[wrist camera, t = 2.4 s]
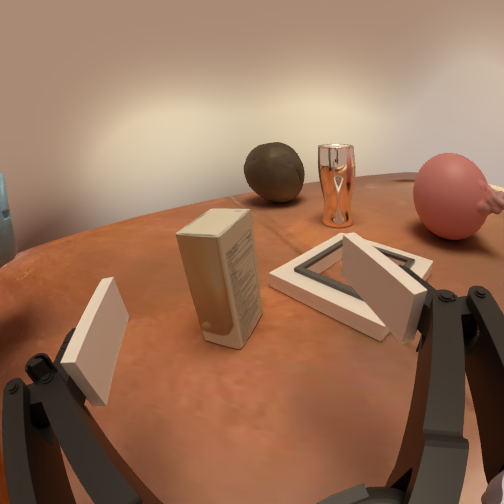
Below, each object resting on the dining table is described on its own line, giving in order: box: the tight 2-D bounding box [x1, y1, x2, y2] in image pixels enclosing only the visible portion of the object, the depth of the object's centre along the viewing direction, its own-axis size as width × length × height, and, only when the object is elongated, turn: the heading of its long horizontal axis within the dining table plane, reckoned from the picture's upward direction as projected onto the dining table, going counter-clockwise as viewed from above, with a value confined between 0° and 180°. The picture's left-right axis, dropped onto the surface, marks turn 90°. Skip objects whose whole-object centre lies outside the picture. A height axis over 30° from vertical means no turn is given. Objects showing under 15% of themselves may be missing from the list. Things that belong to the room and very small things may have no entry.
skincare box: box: [176, 209, 263, 349], centre depth 26 cm, size 6×4×12 cm
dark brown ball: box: [244, 142, 304, 203], centre depth 66 cm, size 14×14×15 cm
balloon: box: [413, 153, 504, 240], centre depth 37 cm, size 15×20×15 cm
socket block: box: [269, 233, 433, 342], centre depth 34 cm, size 16×16×2 cm
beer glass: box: [318, 144, 355, 228], centre depth 50 cm, size 7×7×15 cm
